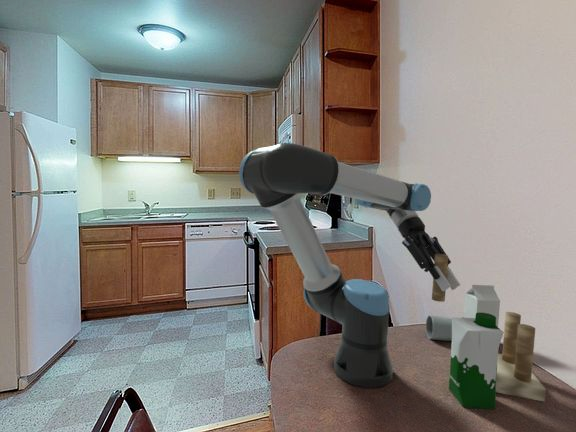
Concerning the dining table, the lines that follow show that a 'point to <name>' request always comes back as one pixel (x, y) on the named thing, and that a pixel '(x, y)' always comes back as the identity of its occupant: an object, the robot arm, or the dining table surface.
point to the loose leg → (442, 263)
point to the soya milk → (474, 360)
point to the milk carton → (482, 301)
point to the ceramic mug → (439, 328)
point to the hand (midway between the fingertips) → (451, 287)
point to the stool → (518, 361)
